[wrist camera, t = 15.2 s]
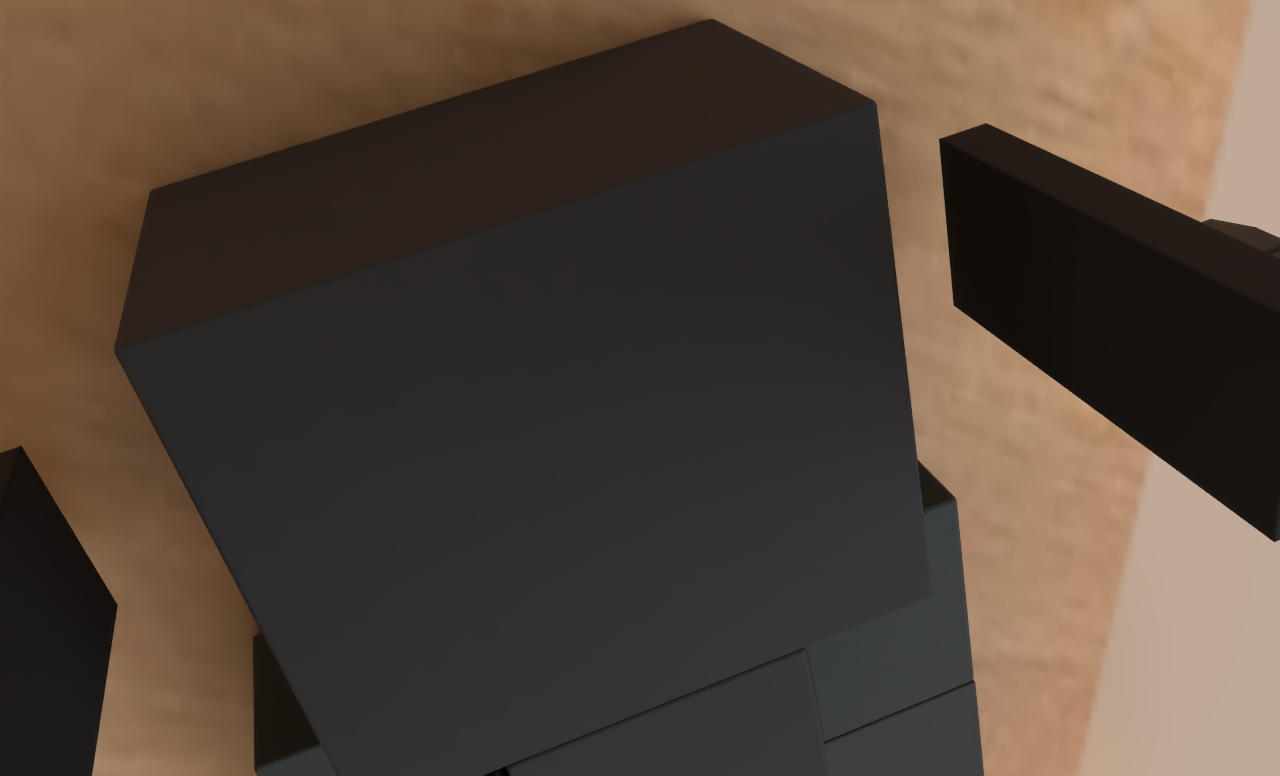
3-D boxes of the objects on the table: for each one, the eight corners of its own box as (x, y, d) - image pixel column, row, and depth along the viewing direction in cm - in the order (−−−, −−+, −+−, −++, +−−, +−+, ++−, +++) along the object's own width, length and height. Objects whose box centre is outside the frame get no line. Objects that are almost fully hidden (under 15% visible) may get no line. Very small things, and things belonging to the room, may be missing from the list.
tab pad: (713, 16, 16) (878, 99, 12) (816, 580, 22) (955, 773, 17) (147, 189, 15) (110, 349, 11) (406, 739, 21) (448, 988, 16)
